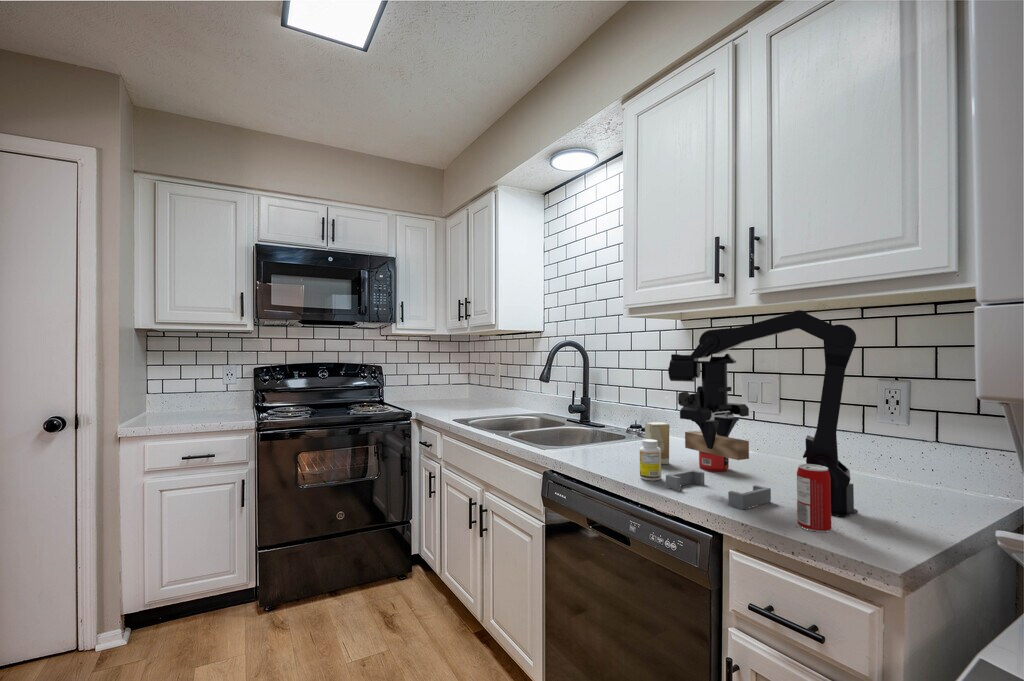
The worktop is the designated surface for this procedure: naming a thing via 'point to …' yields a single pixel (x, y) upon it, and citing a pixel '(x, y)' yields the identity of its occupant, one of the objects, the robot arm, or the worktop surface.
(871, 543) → the worktop surface
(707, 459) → the canned food
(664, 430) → the skincare box
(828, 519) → the soda can
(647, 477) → the supplement bottle
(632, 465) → the worktop surface
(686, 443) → the slat
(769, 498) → the end cap
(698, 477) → the end cap
